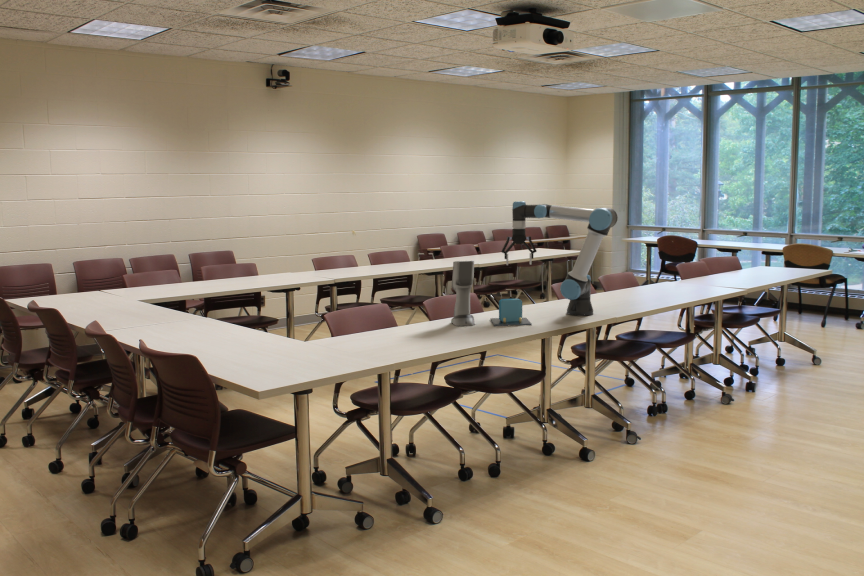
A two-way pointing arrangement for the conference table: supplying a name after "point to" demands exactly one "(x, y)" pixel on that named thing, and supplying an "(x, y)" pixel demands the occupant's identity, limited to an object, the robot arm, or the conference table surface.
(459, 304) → the grey pedestal post
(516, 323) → the chassis
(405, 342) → the conference table surface
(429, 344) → the conference table surface
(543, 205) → the robot arm
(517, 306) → the teal square slab
